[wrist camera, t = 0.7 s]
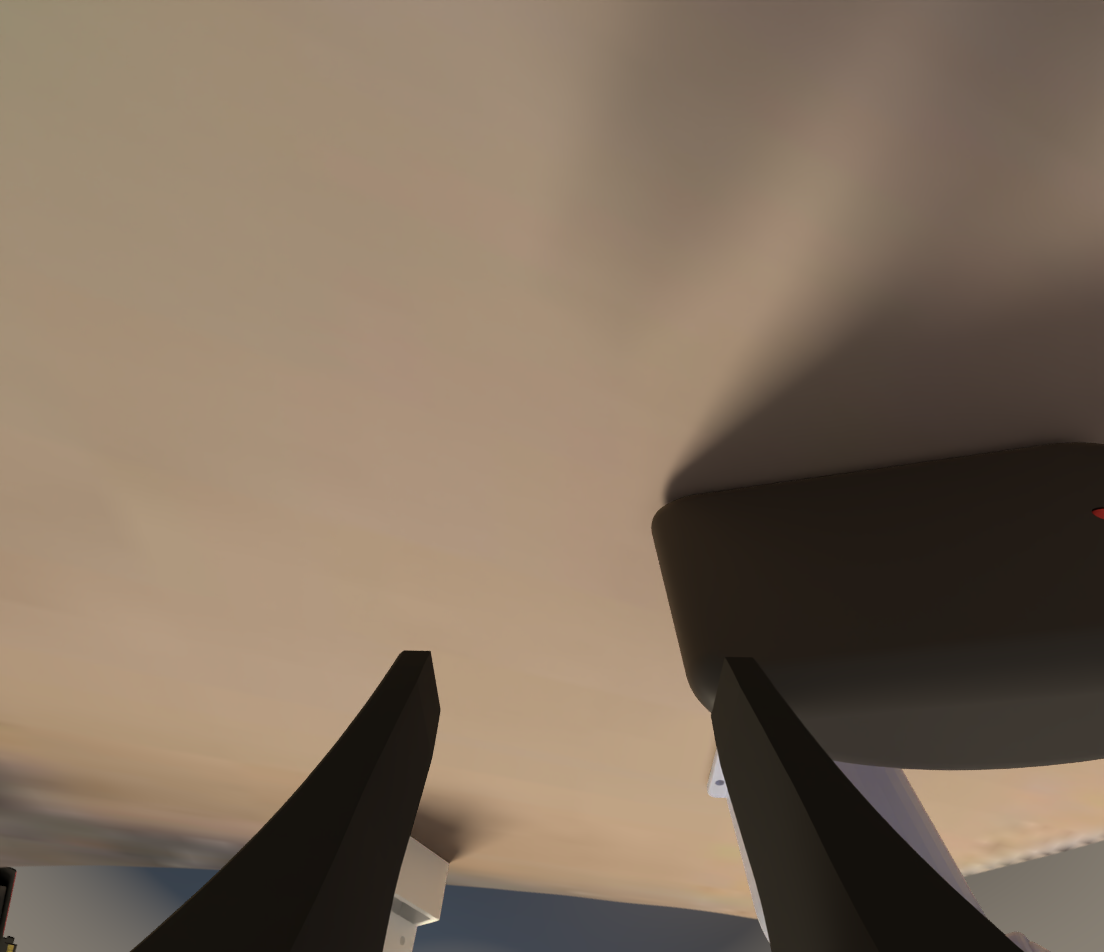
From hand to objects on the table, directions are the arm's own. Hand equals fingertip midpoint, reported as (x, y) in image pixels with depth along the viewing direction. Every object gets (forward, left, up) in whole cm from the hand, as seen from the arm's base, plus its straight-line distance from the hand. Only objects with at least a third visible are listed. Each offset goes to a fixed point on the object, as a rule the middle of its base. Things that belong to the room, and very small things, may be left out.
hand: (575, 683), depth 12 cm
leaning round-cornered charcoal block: (0, -11, -10) cm, 15 cm away
